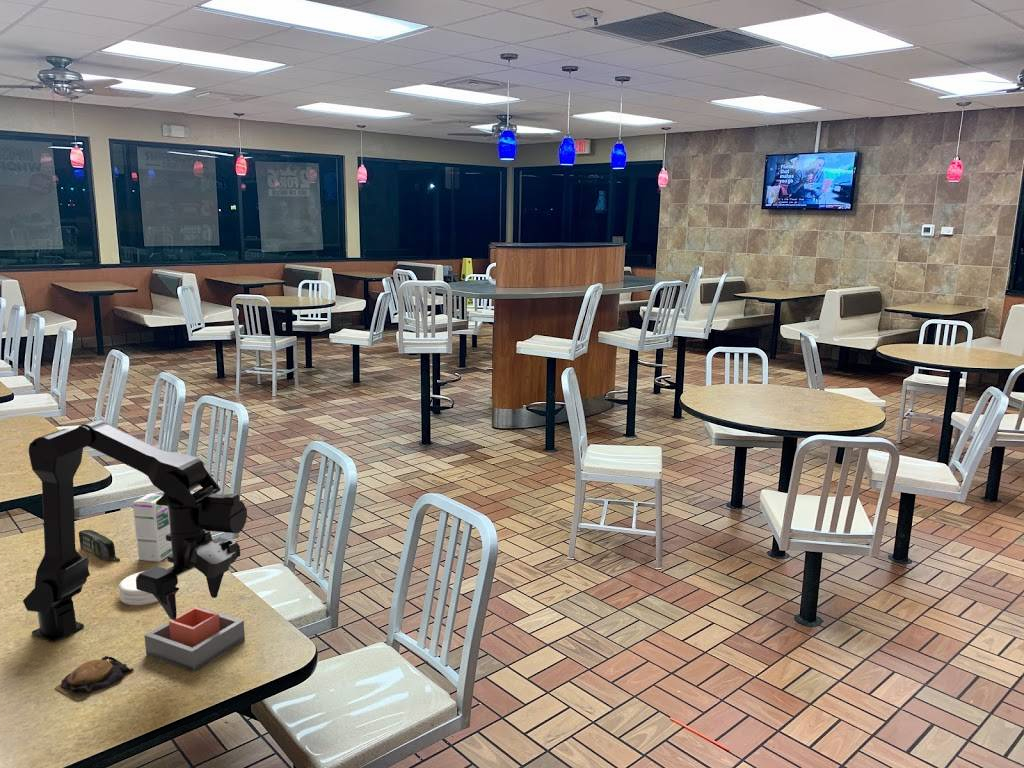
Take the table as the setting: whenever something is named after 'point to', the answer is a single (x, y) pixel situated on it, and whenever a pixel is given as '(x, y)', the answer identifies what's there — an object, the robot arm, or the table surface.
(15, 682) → the table surface
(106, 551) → the mobile phone
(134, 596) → the white round container
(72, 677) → the bread roll
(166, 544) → the syrup box
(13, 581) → the table surface
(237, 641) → the big crate
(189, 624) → the small crate
